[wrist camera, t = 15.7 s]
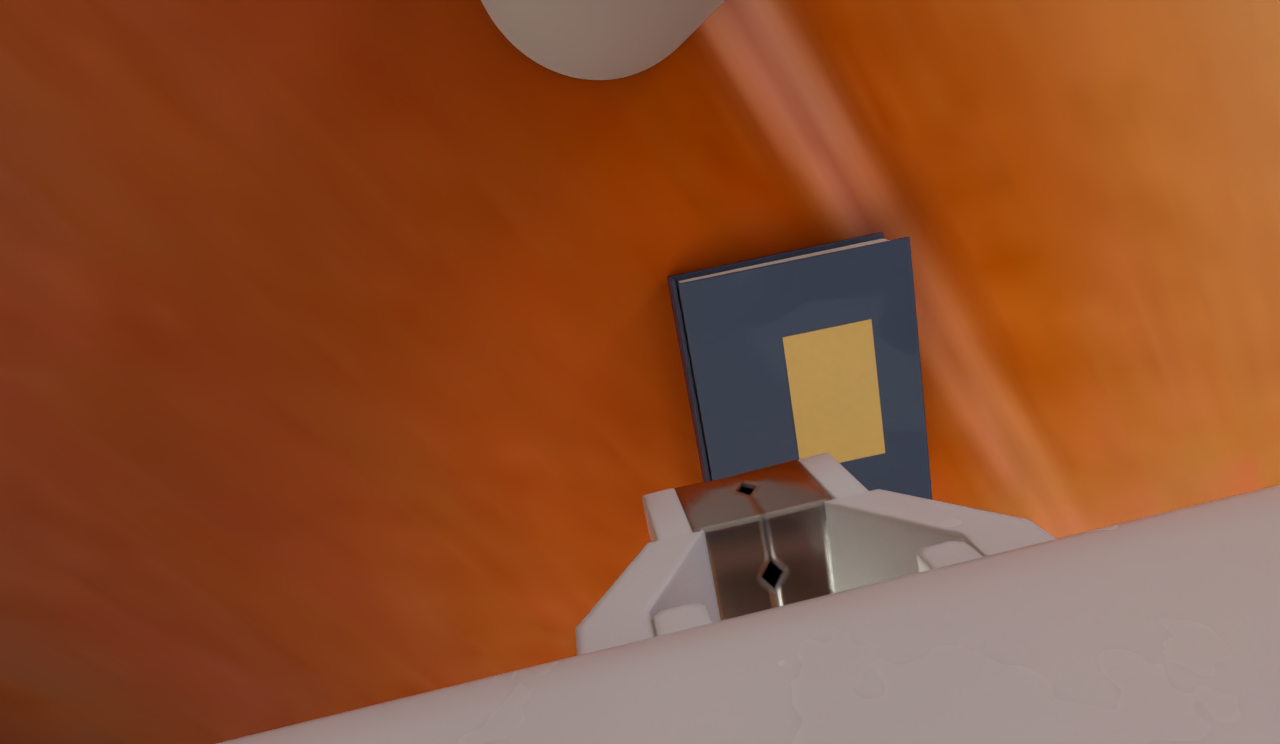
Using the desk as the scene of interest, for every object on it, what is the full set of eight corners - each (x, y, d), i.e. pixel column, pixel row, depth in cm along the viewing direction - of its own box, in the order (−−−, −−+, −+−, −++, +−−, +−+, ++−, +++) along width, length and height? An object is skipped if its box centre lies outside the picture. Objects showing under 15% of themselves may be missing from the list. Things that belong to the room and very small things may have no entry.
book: (881, 232, 43) (893, 234, 41) (905, 481, 47) (917, 491, 46) (667, 276, 42) (671, 280, 40) (711, 526, 46) (717, 538, 45)
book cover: (897, 234, 41) (909, 237, 39) (920, 494, 45) (933, 505, 44) (674, 279, 40) (678, 284, 39) (719, 538, 45) (725, 551, 43)
